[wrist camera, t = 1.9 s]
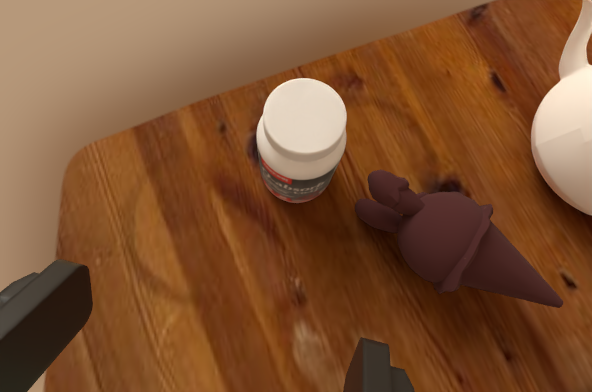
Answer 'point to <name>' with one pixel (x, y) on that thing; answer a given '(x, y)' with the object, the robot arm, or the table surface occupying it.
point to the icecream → (451, 240)
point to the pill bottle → (301, 139)
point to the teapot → (568, 122)
